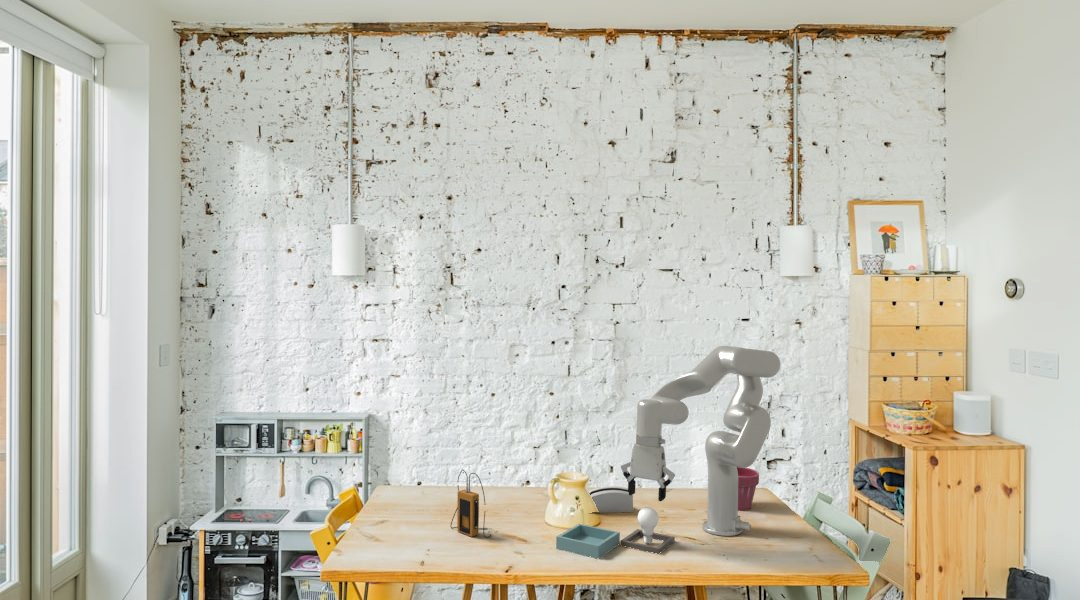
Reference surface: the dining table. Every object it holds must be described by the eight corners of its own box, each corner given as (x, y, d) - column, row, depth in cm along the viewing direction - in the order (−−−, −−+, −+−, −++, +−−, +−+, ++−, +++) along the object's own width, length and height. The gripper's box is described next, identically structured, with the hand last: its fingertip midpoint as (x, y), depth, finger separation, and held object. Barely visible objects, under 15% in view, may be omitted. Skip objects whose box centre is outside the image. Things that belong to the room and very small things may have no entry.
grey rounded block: (630, 506, 251) (633, 483, 248) (633, 515, 247) (636, 491, 243) (584, 508, 249) (586, 484, 246) (586, 516, 245) (588, 492, 241)
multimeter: (503, 532, 224) (504, 469, 223) (480, 540, 216) (480, 475, 216) (472, 521, 234) (473, 461, 233) (449, 529, 226) (449, 466, 226)
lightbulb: (657, 548, 211) (658, 511, 211) (636, 546, 213) (636, 510, 212) (658, 540, 218) (659, 505, 217) (637, 539, 219) (638, 503, 219)
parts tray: (619, 543, 215) (619, 532, 215) (598, 558, 203) (598, 546, 203) (579, 534, 222) (579, 523, 222) (556, 548, 210) (556, 536, 210)
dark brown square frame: (674, 541, 217) (674, 536, 217) (658, 554, 207) (658, 549, 207) (637, 533, 224) (637, 529, 224) (620, 545, 213) (620, 540, 213)
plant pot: (766, 511, 247) (766, 475, 247) (729, 514, 244) (730, 477, 244) (745, 499, 261) (745, 465, 261) (710, 501, 258) (710, 466, 258)
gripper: (680, 443, 213) (678, 499, 213) (627, 435, 222) (625, 489, 222) (670, 447, 207) (668, 505, 207) (617, 438, 216) (615, 494, 216)
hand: (646, 497), depth 215 cm, fingers open, 9 cm apart
